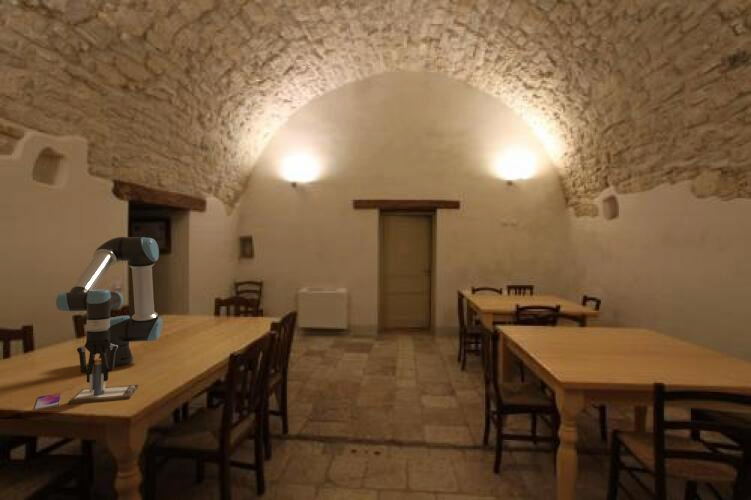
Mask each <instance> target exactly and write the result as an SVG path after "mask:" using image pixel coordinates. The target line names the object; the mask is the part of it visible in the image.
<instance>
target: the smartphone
mask: <svg viewBox="0 0 751 500" xmlns="http://www.w3.org/2000/svg"><path fill="white" fill-rule="evenodd" d="M61 398H62V393H61V392H59V393H54V394H53V393H52V394H46V395H41V396H38V397H37V399H36V402H35V405H34V408H33V411H40V410H41V411H42V410H45V409H51V408H57V407H60V403H61V402H60V401H61Z"/></svg>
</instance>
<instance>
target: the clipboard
mask: <svg viewBox="0 0 751 500" xmlns="http://www.w3.org/2000/svg"><path fill="white" fill-rule="evenodd" d="M138 388H139V384H131V385H130V384H129V385H120V386H119V385H118V386H116V385H115V386H105V389H104V394H102V395H98V396H95V395H94V390H93V391H92V392H89V389H90V388H82V389H80V390H79V392H77V393H76V394H75V395H74V396H73V397H72V398H70V400H68V404H67V405H77V404H79V405H80V404H87V403H90V404H91V403H98V402H99V403H100V402H109V401H122V400H130V399H131V398H132V396H133V395H134V394H135V392H136V391H137V390H138Z"/></svg>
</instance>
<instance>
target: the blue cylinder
mask: <svg viewBox="0 0 751 500" xmlns="http://www.w3.org/2000/svg"><path fill="white" fill-rule="evenodd" d="M93 373H94V395H95V396H98V395H102V394H104V390H103V391H101V374H102V373H103V367H102V361H101V358H100V359H98V358H95V359H94V364H93Z"/></svg>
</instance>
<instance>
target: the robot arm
mask: <svg viewBox="0 0 751 500" xmlns="http://www.w3.org/2000/svg"><path fill="white" fill-rule="evenodd" d="M159 254H160V249H159V245H158V243H157V241H156V240H155V239H154V238H152V237H143V236H139V237H138V236H133V237H132V236H127V237H126V236H119V237H114V238H113V237H112V238H111V239H109V240H107V241H105V242H103V243H102V244H101V245H99V246H98V247H97V248H96V249H95V251H94V252H93V254H92V257H93V258H92V259H91V260H90V262H89V263H88V265H87V266H86V268H85V269H84V271H83V272H82V273H81V275H80V276H79V278H78V279H77V280H76V282H75V283H74V285H73V287H72V288H70V290H69V292H67V291H65V292H60V293H59V294H58V295H57V296H56V299H55V305H56V306H55V307H56V309H57V310H59V311H61V312H86V330H87V331H86V335H85V336H86V342H85V344H84V345H82V346H80V347H77V349H76V350H77V351H76V352H77V353H78V355H79V366H80V373H81V374H85V375H86V383H89V388H88V389H89V392H92V391H93V390H94V372H93V370H94V360H95V359H96V355H97V354H98V358H97V359H100V358H101V361H102V367H103V373H102V374H101V391H103V390H104V389H105V387H106V382H107V381H108V380H109V373H110V372H112V371H113V370H114V369H115V367H119V366H123V365H124V366H125V365H128V364H130V363H133V361H134V356H133V353H132V350H131V348H130V342H131V343H133V342H134V343H135V342H136V343H137V342H139V343H140V342H147V343H148V342H154V341H157V340H158V339H159V338H160V336H161V334H162V329H163V319H162V318H161V317H159V314H158V312H156V311H155V303H154V298H155V297H154V285H153V284H154V282H153V281H154V280H153V268H152V267H153V266H154V265H156V262H157V261H158V260H159V256H160V255H159ZM121 261H123V262H127V265H128V267H129V268H131V272H132V273H131V274H132V275H131V277H132V288H133V289H132V290H133V300H134V301H133V303H134V305H133V306H134V314H133V315H132V316H130V315H119V316H113V317H111V311H115V310H117V309H119V308H121V307H122V306H123V304H124V303H125V302H124V301H125V299H124V298H125V297H124V296H123V294H122V293H121V292H119V291H117V290H115V291H111V290H110V289H106V288H105V289H103V288H102V289H99V288H98V286H99V285H100V282H101V281H102V280H103V278H104V277H105V276H106V274H107V272H108V271H109V269H110V267H111V266H113V265H115V264H116V262H121ZM97 288H98V289H97ZM86 351H88V352H89V356H88V357H89V358H88V362H87V357H86Z"/></svg>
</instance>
